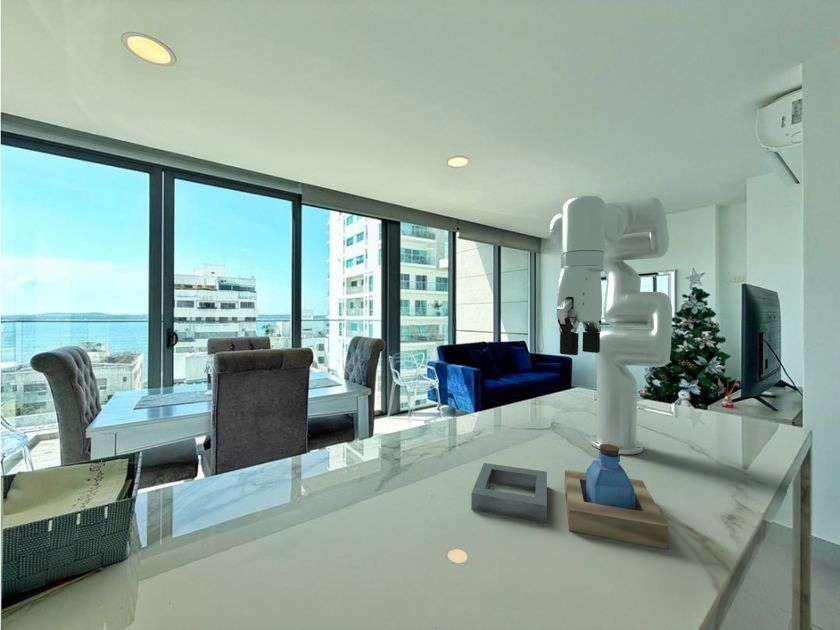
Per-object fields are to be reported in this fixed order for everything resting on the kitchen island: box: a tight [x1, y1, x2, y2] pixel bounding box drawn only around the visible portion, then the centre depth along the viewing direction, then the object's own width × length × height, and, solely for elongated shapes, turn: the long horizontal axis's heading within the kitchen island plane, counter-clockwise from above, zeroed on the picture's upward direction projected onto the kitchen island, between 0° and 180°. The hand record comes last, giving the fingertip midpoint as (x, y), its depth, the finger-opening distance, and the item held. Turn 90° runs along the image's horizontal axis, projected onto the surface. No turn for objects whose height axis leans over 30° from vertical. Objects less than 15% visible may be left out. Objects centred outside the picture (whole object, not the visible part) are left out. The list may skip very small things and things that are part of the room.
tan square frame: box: [564, 469, 669, 550], centre depth 66 cm, size 16×14×4 cm
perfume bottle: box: [585, 444, 634, 510], centre depth 66 cm, size 6×6×12 cm
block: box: [470, 462, 548, 524], centre depth 72 cm, size 14×13×3 cm
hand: (580, 353), depth 70 cm, fingers open, 9 cm apart
